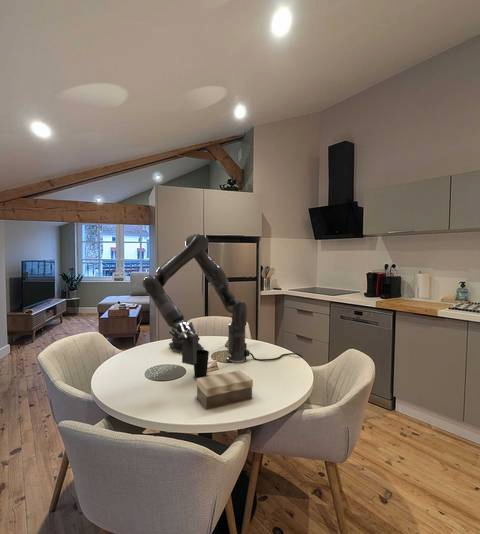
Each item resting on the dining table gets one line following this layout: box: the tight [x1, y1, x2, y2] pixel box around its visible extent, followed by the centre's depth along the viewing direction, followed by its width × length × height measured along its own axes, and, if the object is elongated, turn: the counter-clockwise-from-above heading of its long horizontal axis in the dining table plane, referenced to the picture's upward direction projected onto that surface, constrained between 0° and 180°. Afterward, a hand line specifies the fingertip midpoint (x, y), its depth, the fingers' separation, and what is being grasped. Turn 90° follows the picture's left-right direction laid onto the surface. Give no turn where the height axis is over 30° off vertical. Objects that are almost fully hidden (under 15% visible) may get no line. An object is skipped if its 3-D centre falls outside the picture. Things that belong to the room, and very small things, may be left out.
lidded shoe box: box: [196, 369, 254, 410], centre depth 126 cm, size 20×11×8 cm, turn 116°
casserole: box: [168, 333, 204, 353], centre depth 189 cm, size 25×19×8 cm
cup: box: [193, 349, 210, 380], centre depth 147 cm, size 8×8×12 cm
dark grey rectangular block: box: [181, 334, 198, 366], centre depth 132 cm, size 3×6×12 cm, turn 61°
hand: (193, 345), depth 131 cm, fingers closed on dark grey rectangular block, 3 cm apart
